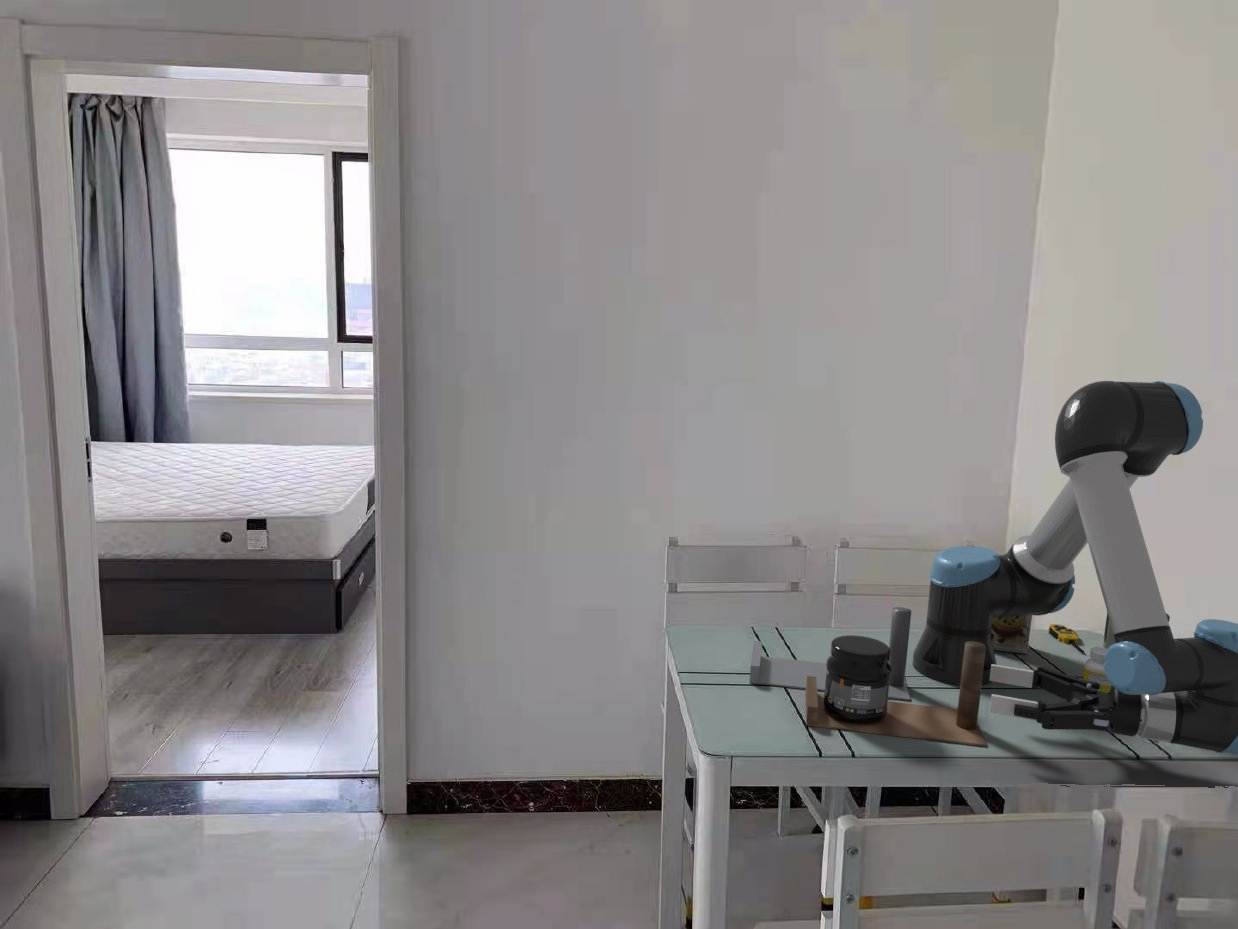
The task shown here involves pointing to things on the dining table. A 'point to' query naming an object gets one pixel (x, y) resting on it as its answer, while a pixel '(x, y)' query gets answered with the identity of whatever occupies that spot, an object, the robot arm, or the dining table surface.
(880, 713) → the supplement container
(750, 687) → the dining table surface
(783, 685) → the grey l-shaped stand
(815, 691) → the wooden peg stand
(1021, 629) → the cookie box
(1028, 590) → the robot arm
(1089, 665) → the supplement bottle
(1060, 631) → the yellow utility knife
